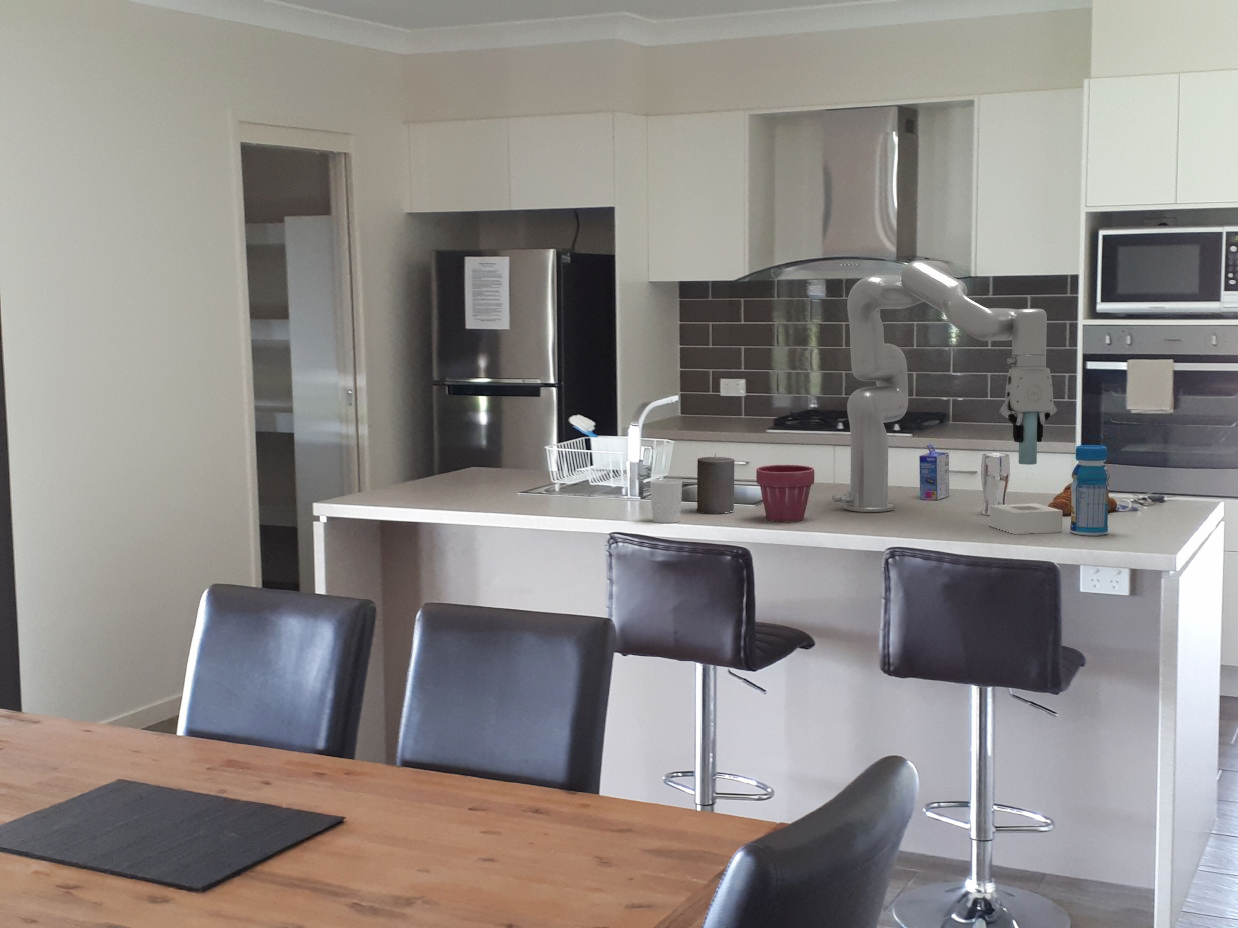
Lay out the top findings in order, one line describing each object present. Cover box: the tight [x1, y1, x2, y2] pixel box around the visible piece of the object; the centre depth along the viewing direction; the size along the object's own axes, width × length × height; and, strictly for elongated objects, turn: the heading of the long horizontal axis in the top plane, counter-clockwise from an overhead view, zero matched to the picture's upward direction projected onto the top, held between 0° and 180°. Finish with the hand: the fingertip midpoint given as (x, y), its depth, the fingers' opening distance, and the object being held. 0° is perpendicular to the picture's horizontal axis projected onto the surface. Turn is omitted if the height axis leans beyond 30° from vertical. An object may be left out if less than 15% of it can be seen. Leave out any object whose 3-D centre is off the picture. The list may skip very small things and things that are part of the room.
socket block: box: [988, 502, 1063, 535], centre depth 311 cm, size 12×12×5 cm
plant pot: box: [755, 464, 815, 522], centre depth 330 cm, size 14×14×13 cm
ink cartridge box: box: [918, 444, 950, 501], centre depth 364 cm, size 10×6×14 cm, turn 148°
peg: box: [1018, 412, 1038, 466], centre depth 309 cm, size 4×4×14 cm
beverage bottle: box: [1069, 444, 1111, 537], centre depth 304 cm, size 8×8×20 cm
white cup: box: [649, 478, 683, 524], centre depth 329 cm, size 8×8×10 cm
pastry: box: [1047, 482, 1118, 517], centre depth 336 cm, size 17×15×8 cm
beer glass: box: [980, 452, 1011, 516], centre depth 334 cm, size 7×7×15 cm
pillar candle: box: [696, 453, 735, 515], centre depth 344 cm, size 10×10×15 cm
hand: (1027, 440), depth 309 cm, fingers closed on peg, 4 cm apart
